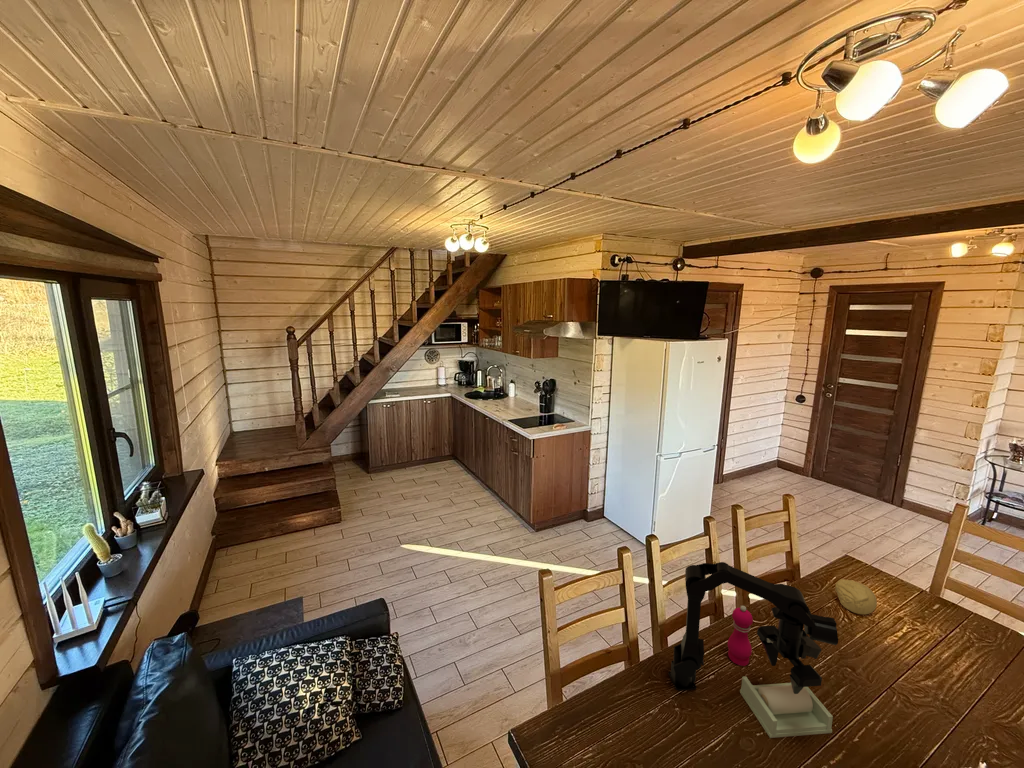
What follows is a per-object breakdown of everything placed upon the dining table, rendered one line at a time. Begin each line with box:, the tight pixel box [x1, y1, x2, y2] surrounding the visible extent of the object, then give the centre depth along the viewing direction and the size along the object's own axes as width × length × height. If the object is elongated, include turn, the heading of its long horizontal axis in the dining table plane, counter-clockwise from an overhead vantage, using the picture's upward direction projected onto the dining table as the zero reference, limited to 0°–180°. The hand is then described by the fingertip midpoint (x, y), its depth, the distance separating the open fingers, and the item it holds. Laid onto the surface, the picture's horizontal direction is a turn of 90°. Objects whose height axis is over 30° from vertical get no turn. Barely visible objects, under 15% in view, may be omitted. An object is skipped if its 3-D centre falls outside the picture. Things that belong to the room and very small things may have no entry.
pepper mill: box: [727, 605, 754, 667], centre depth 139 cm, size 7×7×20 cm
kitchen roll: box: [758, 685, 813, 715], centre depth 121 cm, size 13×6×6 cm, turn 93°
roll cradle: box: [739, 675, 834, 739], centre depth 122 cm, size 18×14×6 cm
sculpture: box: [834, 578, 878, 615], centre depth 162 cm, size 12×12×11 cm
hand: (784, 678), depth 120 cm, fingers open, 9 cm apart
